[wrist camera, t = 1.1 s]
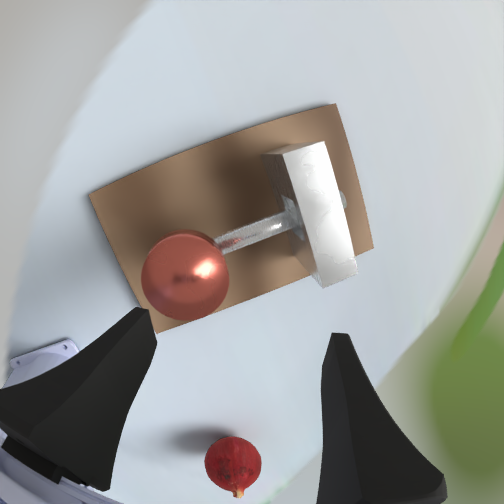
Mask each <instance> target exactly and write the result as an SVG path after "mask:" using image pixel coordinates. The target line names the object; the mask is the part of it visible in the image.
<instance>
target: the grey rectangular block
mask: <svg viewBox="0 0 504 504" xmlns="http://www.w3.org/2000/svg"><path fill="white" fill-rule="evenodd" d="M260 155H261V158H262V161H263V164H264V167H265V170H266V173H267V175H268V178H269V181H270V184H271V187H272V190H273V193H274V196H275V199H276V202H277V205H278V208H279V211H283V210H286V209H288V208H291V207H294V206H295V209H296V212H297V215H298V219H299V222H300V226H297V227H294V228H292V229H289V230H286V233H287V236H288V239H289V242H290V245H291V248H292V251H293V255H294V257H295V258H296V259H297V260H298V261H299V262H300V264H301V265H302V266H303V267H304V268H305V269H306V270H307V271H308V272H309V274H310V275H311V276H312V277H313V278H314V279H315V280H316V281H317V282H318V284H319V285H320V286H321V287H322V288H325V287H328V286H330V285H332V284H335V283H337V282H339V281H342V280H344V279H346V278H348V277H351V276H353V275H355V274H357V273H358V269H357V265H356V260H355V255H354V251H353V246H352V242H351V238H350V233H349V229H348V225H347V221H346V217H345V213H344V209H343V205H342V202H341V198H340V194H339V190H338V187H337V183H336V179H335V176H334V172H333V169H332V166H331V162H330V159H329V155H328V152H327V149H326V146H325V142H324V141H319V142H306V143H295V144H290V145H287V146H283V147H280V148H277V149H274V150H271V151H268V152H265V153H262V154H260Z"/></svg>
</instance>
